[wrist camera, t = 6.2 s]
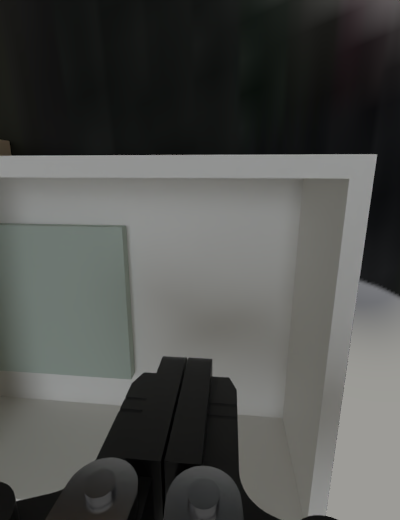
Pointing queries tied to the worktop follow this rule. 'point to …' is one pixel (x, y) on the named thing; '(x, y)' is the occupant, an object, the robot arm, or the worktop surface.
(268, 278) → the tray
